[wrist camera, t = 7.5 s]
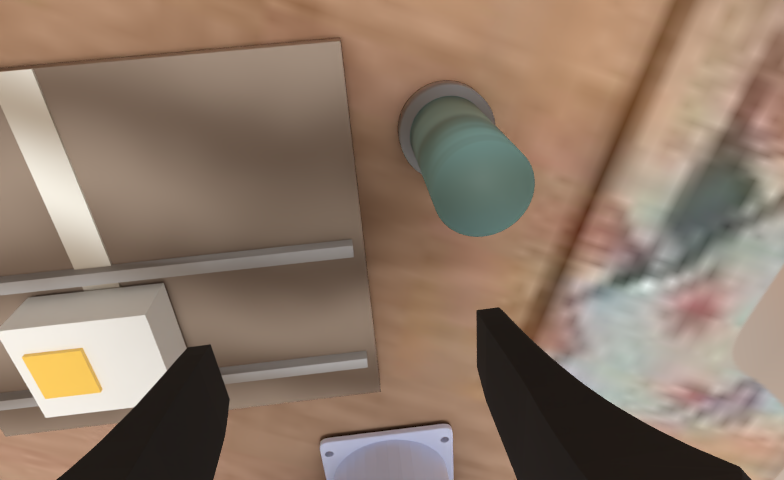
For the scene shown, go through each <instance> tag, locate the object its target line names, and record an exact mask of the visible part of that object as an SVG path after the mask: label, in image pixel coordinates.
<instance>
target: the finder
mask: <svg viewBox="0 0 784 480" xmlns="http://www.w3.org/2000/svg"><path fill="white" fill-rule="evenodd" d="M0 340H1V342H2V344H3V345H4V347H5V349H6V351H7V352H8V354H9V356H10V357H11V359H12V361H13V363H14V364H15V366H16V368H17V369H18V371H19V373H20V375H21V376H22V378H23V380H24V381H25V383H26V385H27V387H28V388H29V390H30V392H31V393H32V395H33V397H34V399H35V400H36V402H37V404H38V406H39V407H40V409H41V411H42V412H43V414H44V416H45V418H49V417H57V416H66V415H74V414H83V413H91V412H99V411H108V410H116V409H125V408H133V407H135V406H136V405H137V404H138V403H139V401H140V400H141V399H142V398H143V397H144V396H145V395H146V394H147V393H148V391H149V390H150V389H151V388H152V387H153V386H154V385H155V384H156V383H157V381H158V380H159V379H160V378H161V377H162V376H163V375H164V373H165V372H166V371H167V370H168V369H169V368H170V367H171V365H172V364H173V363H174V362H175V361H176V360H177V359H178V357H179V356H180V355H181V354H182V353H183V352H184V351H185V350H186V349H187V348H186V345H185V342H184V340H183V337H182V334H181V331H180V328H179V325H178V323H177V320H176V317H175V314H174V311H173V308H172V306H171V303H170V300H169V297H168V294H167V291H166V289H165V286H164V283H158V284H148V285H139V286H130V287H121V288H112V289H102V290H93V291H84V292H75V293H66V294H56V295H47V296H38V297H29V298H27V299H26V300H25V301H24V302H23V303H22V304H21V305H20V307H19V308H18V309H17V310H16V311H15V312H14V313H13V314H12V315H11V316H10V317H9V318H8V319H7V320H6V321H5V322H4V323H3V324H2V325H1V326H0Z"/></svg>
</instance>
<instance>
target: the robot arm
mask: <svg viewBox="0 0 784 480" xmlns="http://www.w3.org/2000/svg"><path fill="white" fill-rule="evenodd" d="M477 368H478V372H479V376H480V380H481V384H482V387H483V391H484V395H485V398H486V402H487V404H488V407H489V409H490V412H491V415H492V417H493V420H494V422H495V425H496V427H497V430H498V432H499V435H500V437H501V440H502V442H503V445H504V447H505V450H506V452H507V455H508V457H509V460H510V462H511V465H512V467H513V470H514V472H515V475H516V478H517V480H751V479H750V478H749V477H748V475H747V474H746V473H745V472H744V471H743V470H742V469H741V468H740V467H739V466H737V465H734V464H732V463H729V462H727V461H725V460H722V459H720V458H718V457H715V456H713V455H710V454H708V453H706V452H703V451H701V450H699V449H696V448H694V447H692V446H689V445H687V444H685V443H683V442H681V441H679V440H677V439H675V438H673V437H671V436H669V435H667V434H665V433H663V432H661V431H659V430H657V429H655V428H653V427H651V426H650V425H648V424H646V423H644V422H642V421H641V420H639V419H637V418H635V417H634V416H632V415H630V414H629V413H627V412H625V411H623V410H622V409H620V408H618V407H617V406H615V405H614V404H612V403H610V402H609V401H607V400H606V399H604V398H603V397H601V396H600V395H598V394H597V393H596V392H594V391H593V390H591V389H590V388H588V387H587V386H586V385H584V384H583V383H582V382H580V381H579V380H578V379H576V378H575V377H574V376H573V375H571V374H570V373H569V372H568V371H566V370H565V369H564V368H563V367H561V366H560V365H559V364H558V363H557V362H556V361H554V360H553V359H552V358H551V357H550V356H549V355H548V354H546V353H545V352H544V351H543V350H542V349H541V348H540V347H539V346H538V345H536V344H535V343H534V342H533V341H532V340H531V339H530V338H529V337H528V336H527V335H526V334H525V333H524V332H523V331H522V330H521V329H520V328H519V327H518V326H517V325H516V324H515V323H514V322H513V321H512V320H511V319H510V318H509V317H508V316H507V315H506V314H505V313H504V312H503V310H501V309H500V308H491V309H483V310H477ZM229 402H230V398H229V395H228V393H227V390H226V387H225V384H224V381H223V378H222V375H221V373H220V370H219V367H218V364H217V361H216V358H215V355H214V353H213V350H212V347H211V344H209V345H202V346H194V347H188V348H187V349H186V350H185V351H184V352H183V353H182V354H181V355H180V356H179V357H178V359H177V360H176V361H175V362H174V363H173V364H172V365H171V367H170V368H169V369H168V370H167V371H166V372H165V373H164V375H163V376H162V377H161V378H160V379H159V380H158V381H157V383H156V384H155V385H154V386H153V387H152V388H151V389H150V390H149V391H148V393H147V394H146V395H145V396H144V397H143V398H142V399H141V400H140V401H139V403H138V404H137V405H136V406H135V407H134V408H133V409H132V410H131V411H130V412H129V413H128V414H127V415H126V416H125V417H124V418H123V419H122V420H121V421H120V422H119V423H118V424H117V425H116V426H115V427H114V428H113V429H112V430H111V431H110V432H109V433H108V434H107V435H106V436H105V437H104V438H103V439H102V440H101V441H100V442H99V443H98V444H97V445H96V446H95V447H94V448H93V449H92V450H91V451H89V452H88V453H87V454H86V455H85V456H84V457H83V458H82V459H80V460H79V461H78V462H77V463H76V464H75V465H74V466H72V467H71V468H70V469H69V470H68V471H67V472H65V473H64V474H63V475H62V476H61V477H59V478H58V479H57V480H213V478H214V475H215V471H216V467H217V464H218V460H219V456H220V453H221V449H222V445H223V441H224V437H225V432H226V425H227V418H228V410H229ZM329 451H330V452H329ZM320 452H321V457H322V462H323V467H324V471H325V476H326V480H454V472H453V432H452V428H451V426H450V425H449V424H436V425H428V426H420V427H412V428H404V429H396V430H388V431H379V432H371V433H363V434H355V435H347V436H339V437H331V438H325V439H323V440H322V441H321V442H320Z"/></svg>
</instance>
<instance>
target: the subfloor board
mask: <svg viewBox="0 0 784 480" xmlns="http://www.w3.org/2000/svg"><path fill="white" fill-rule="evenodd" d="M158 283H164V286H165V289H166V291H167V294H168V297H169V300H170V303H171V306H172V308H173V311H174V314H175V317H176V320H177V323H178V325H179V328H180V331H181V334H182V337H183V340H184V342H185V345H186V348H188V347H194V346H202V345H209V344H211V347H212V350H213V353H214V355H215V358H216V361H217V364H218V367H219V370H220V373H221V375H222V378H223V381H224V384H225V387H226V390H227V393H228V395H229V398H230V402H229V410H231V409H240V408H248V407H256V406H265V405H273V404H281V403H290V402H298V401H306V400H315V399H323V398H331V397H340V396H348V395H357V394H365V393H373V392H381V389H380V378H379V369H378V361H377V352H376V343H375V334H374V326H373V317H372V308H371V300H370V291H369V282H368V274H367V265H366V256H365V248H364V239H363V230H362V222H361V213H360V204H359V196H358V187H357V178H356V170H355V161H354V152H353V144H352V135H351V126H350V117H349V109H348V100H347V91H346V83H345V74H344V65H343V57H342V48H341V39H340V38H332V39H321V40H310V41H298V42H287V43H276V44H265V45H254V46H243V47H231V48H220V49H209V50H198V51H187V52H176V53H164V54H153V55H142V56H131V57H120V58H109V59H97V60H86V61H75V62H64V63H53V64H42V65H30V66H19V67H8V68H0V326H1V325H2V324H3V323H4V322H5V321H6V320H7V319H8V318H9V317H10V316H11V315H12V314H13V313H14V312H15V311H16V310H17V309H18V308H19V307H20V305H21V304H22V303H23V302H24V301H25V300H26V299H27V298H29V297H38V296H47V295H56V294H66V293H75V292H84V291H93V290H102V289H112V288H121V287H130V286H139V285H148V284H158ZM133 408H134V407H133ZM133 408H125V409H116V410H108V411H99V412H91V413H83V414H74V415H66V416H57V417H49V418H45V416H44V414H43V412H42V411H41V409H40V407H39V406H38V404H37V402H36V400H35V399H34V397H33V395H32V393H31V392H30V390H29V388H28V387H27V385H26V383H25V381H24V380H23V378H22V376H21V375H20V373H19V371H18V369H17V368H16V366H15V364H14V363H13V361H12V359H11V357H10V356H9V354H8V352H7V351H6V349H5V347H4V345H3V344H2V342H1V340H0V429H1V430H2V432H3V433H4V435H5V436H14V435H22V434H31V433H39V432H47V431H56V430H64V429H72V428H81V427H89V426H97V425H106V424H114V423H119V422H120V421H121V420H122V419H123V418H124V417H125V416H126V415H127V414H128V413H129V412H130V411H131V410H132V409H133Z"/></svg>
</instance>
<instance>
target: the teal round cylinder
mask: <svg viewBox="0 0 784 480" xmlns="http://www.w3.org/2000/svg"><path fill="white" fill-rule="evenodd" d="M398 136H399V141H400V145H401V148H402V151H403V153H404V155H405V157H406V159H407V161H408V162H409V163H410V165H411V166H412V167H413V168H414V169H415V170H416V171H418V172H419V173H421V174H422V176H423V178H424V181H425V184H426V186H427V189H428V191H429V194H430V196H431V199H432V202H433V204H434V207H435V209H436V212H437V214H438V216H439V217H440V219H441V220H442V221H443V222H444V224H446V225H447V226H448V227H449V228H450V229H452V230H453V231H455V232H457V233H460V234H463V235H467V236H474V237H481V236H489V235H492V234H496V233H498V232H501V231H503V230H505V229H507V228H508V227H510V226H511V225H513V224H514V223H515V222H516V221H517V220H518V219H519V218H520V217H521V216H522V215H523V214H524V212H525V211H526V210H527V208H528V206H529V204H530V202H531V200H532V197H533V193H534V187H535V179H534V173H533V170H532V167H531V165H530V163H529V161H528V160H527V158H526V157H525V156H524V155H523V154H522V153H521V151H520V150H519V149H518V148H517V147H516V146H515V145H514V144H513V143H512V142H511V141H510V140H509V139H508V138H507V137H506V136H505V135H504V134H503V133H502V132H501V131H500V130H499V129H498V128H497V127H496V126H495V120H494V116H493V113H492V110H491V108H490V106H489V105H488V104H487V102H486V101H485V100H484V99H483V98H482V97H481V96H480V95H479V94H478V93H477V92H476V91H475V90H473V89H472V88H471V87H469V86H467V85H465V84H463V83H460V82H456V81H449V80H448V81H437V82H434V83H430V84H428V85H426V86H424V87H422V88H421V89H419V90H418V91H417V92H415V93H414V94H413V95H412V96H411V97H410V98H409V100H408V101H407V102H406V104H405V106H404V107H403V109H402V112H401V114H400V118H399V122H398Z"/></svg>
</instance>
